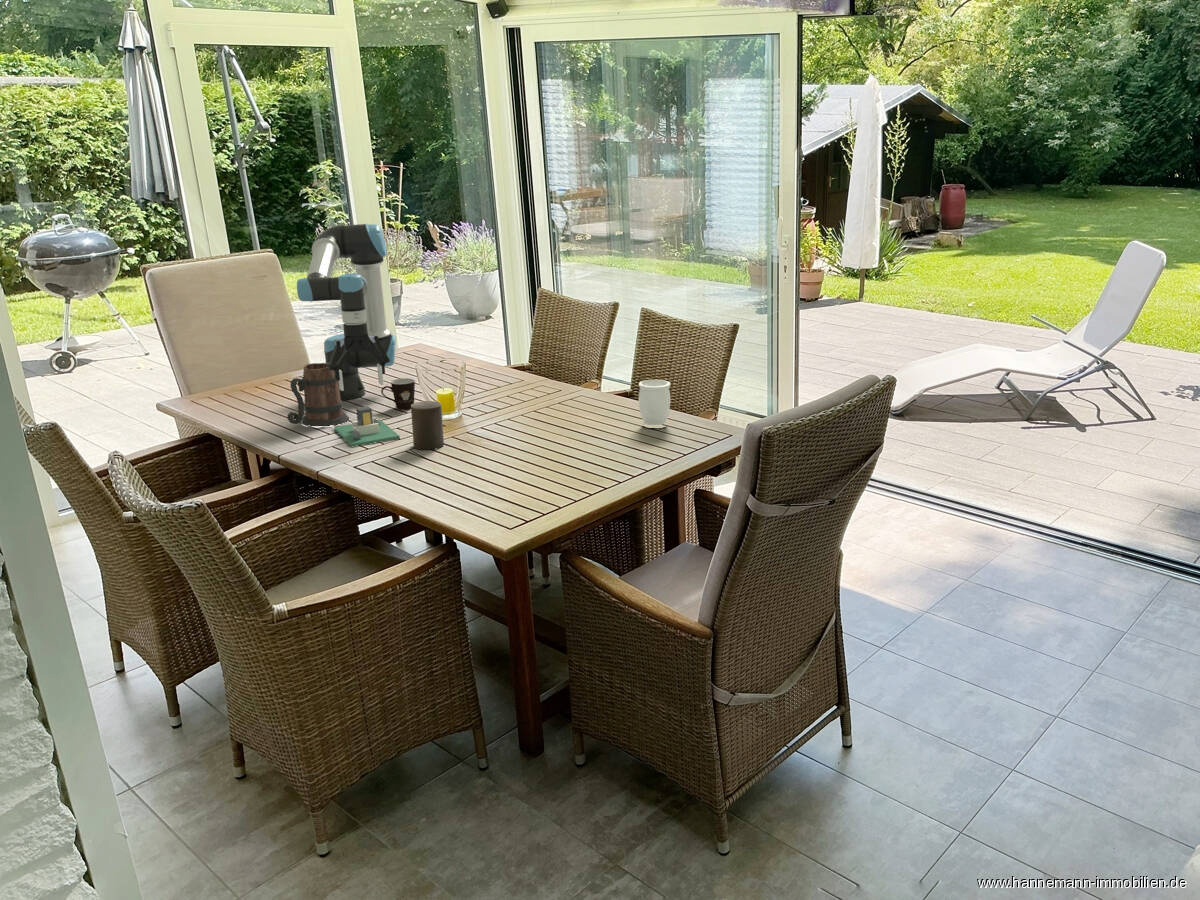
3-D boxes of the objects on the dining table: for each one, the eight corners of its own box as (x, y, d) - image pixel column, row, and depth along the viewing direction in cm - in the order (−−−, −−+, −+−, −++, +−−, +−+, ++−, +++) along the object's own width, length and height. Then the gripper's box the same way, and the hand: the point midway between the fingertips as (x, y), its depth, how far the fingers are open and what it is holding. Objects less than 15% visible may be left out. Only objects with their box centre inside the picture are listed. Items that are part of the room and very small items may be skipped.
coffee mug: (419, 404, 358) (417, 378, 355) (413, 411, 350) (411, 384, 347) (389, 404, 359) (386, 378, 356) (382, 410, 351) (379, 384, 348)
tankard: (327, 411, 352) (320, 357, 346) (360, 418, 343) (354, 363, 337) (274, 428, 334) (267, 372, 327) (308, 435, 325) (300, 378, 318)
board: (334, 429, 330) (333, 418, 329) (380, 422, 338) (379, 411, 336) (351, 447, 312) (350, 435, 311) (399, 438, 319) (398, 427, 318)
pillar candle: (430, 452, 306) (427, 406, 301) (407, 447, 311) (403, 402, 306) (450, 443, 313) (447, 399, 309) (427, 439, 318) (424, 395, 314)
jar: (674, 423, 328) (674, 380, 324) (663, 432, 320) (663, 388, 315) (645, 420, 333) (645, 377, 328) (634, 428, 324) (633, 385, 319)
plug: (358, 430, 325) (356, 407, 323) (370, 428, 327) (367, 406, 325) (362, 434, 322) (359, 410, 319) (374, 431, 324) (371, 408, 321)
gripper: (319, 329, 304) (326, 394, 311) (395, 320, 315) (401, 383, 322) (313, 325, 310) (321, 389, 317) (388, 316, 321) (394, 379, 328)
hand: (361, 386), depth 320 cm, fingers open, 12 cm apart
